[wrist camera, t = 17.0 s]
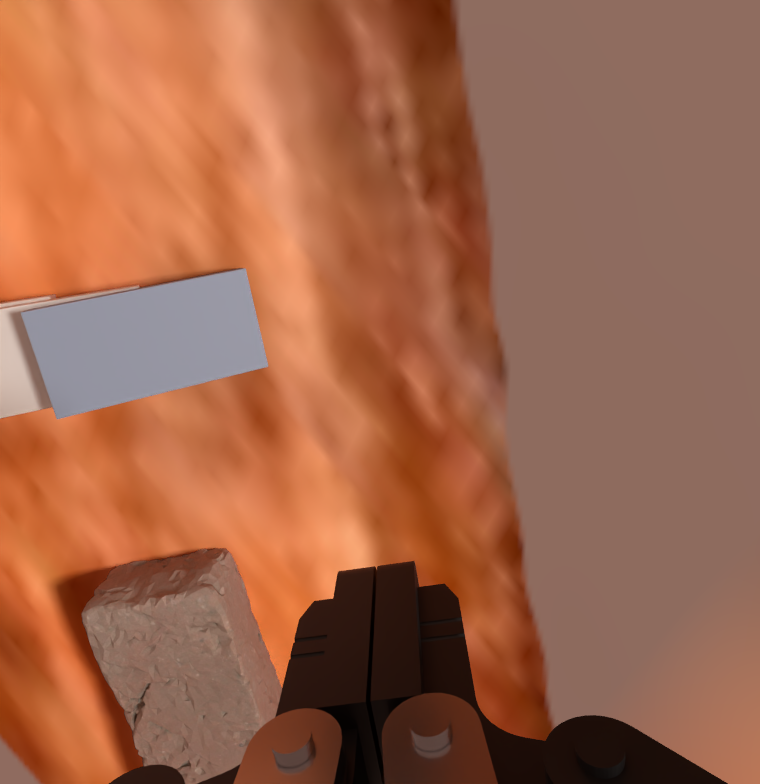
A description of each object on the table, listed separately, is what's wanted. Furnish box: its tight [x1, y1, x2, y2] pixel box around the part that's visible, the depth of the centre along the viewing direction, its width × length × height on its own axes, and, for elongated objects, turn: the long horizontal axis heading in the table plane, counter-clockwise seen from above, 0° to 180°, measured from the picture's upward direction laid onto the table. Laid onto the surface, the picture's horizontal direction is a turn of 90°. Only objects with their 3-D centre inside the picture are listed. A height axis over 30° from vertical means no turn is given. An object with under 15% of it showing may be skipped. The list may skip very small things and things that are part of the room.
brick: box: [82, 548, 282, 784], centre depth 36 cm, size 17×8×5 cm, turn 14°
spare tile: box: [21, 268, 268, 419], centre depth 30 cm, size 5×2×10 cm
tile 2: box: [0, 285, 140, 418], centre depth 30 cm, size 5×2×10 cm
